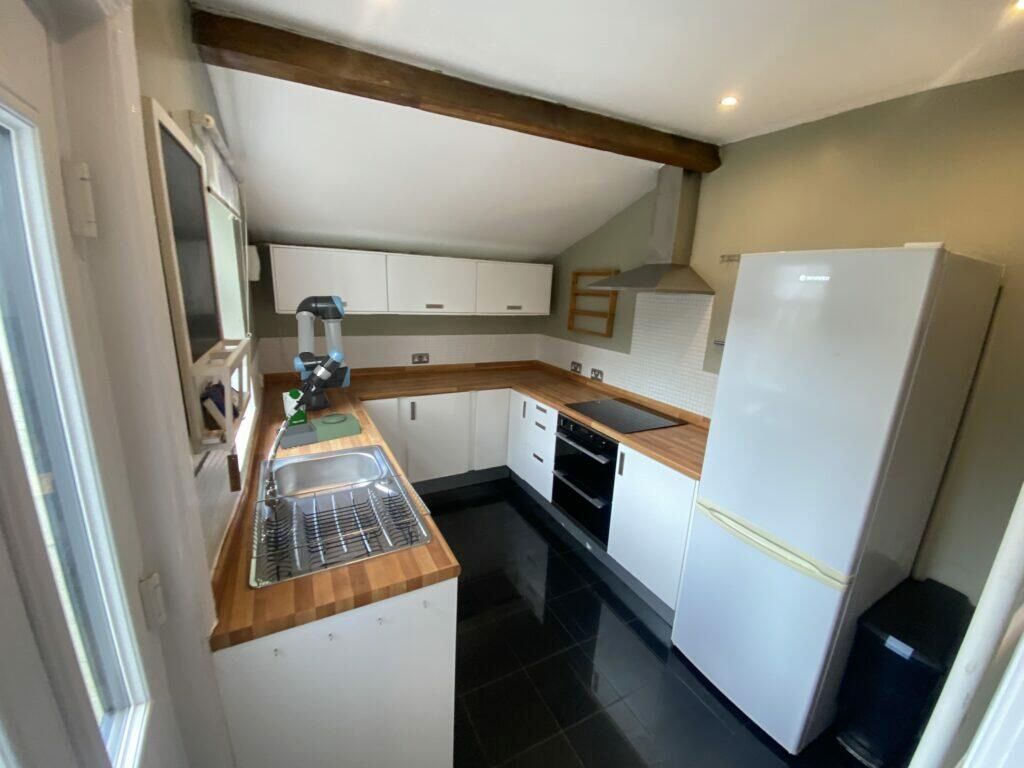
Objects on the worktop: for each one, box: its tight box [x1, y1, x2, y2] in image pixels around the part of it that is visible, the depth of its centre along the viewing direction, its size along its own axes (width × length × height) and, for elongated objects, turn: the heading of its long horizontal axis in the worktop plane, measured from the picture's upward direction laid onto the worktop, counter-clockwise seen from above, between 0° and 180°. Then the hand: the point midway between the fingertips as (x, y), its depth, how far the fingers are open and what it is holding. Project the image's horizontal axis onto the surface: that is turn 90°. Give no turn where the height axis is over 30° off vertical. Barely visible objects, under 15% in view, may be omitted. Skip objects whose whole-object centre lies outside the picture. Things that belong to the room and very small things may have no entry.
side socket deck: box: [275, 412, 361, 450], centre depth 192 cm, size 34×15×9 cm, turn 127°
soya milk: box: [282, 388, 308, 427], centre depth 199 cm, size 9×9×20 cm
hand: (288, 411), depth 198 cm, fingers closed on soya milk, 9 cm apart
